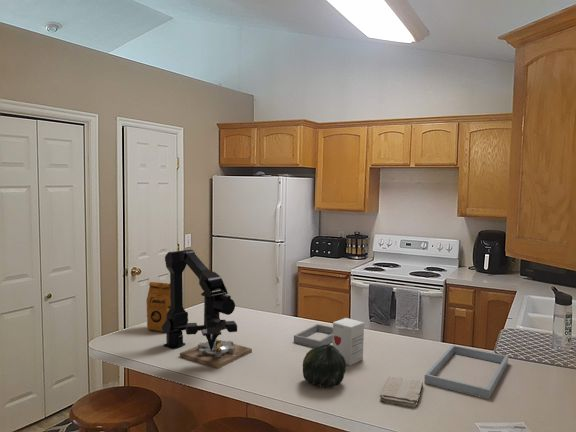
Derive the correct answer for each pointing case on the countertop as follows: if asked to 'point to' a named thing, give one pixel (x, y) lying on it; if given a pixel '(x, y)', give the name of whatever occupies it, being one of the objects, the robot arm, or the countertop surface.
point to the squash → (324, 366)
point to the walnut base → (211, 360)
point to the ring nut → (216, 348)
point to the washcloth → (401, 391)
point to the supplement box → (349, 339)
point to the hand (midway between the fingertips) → (211, 349)
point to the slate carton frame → (463, 386)
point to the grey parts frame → (301, 336)
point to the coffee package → (158, 305)
